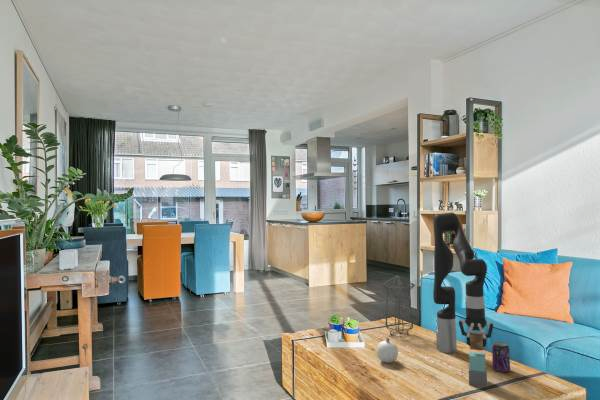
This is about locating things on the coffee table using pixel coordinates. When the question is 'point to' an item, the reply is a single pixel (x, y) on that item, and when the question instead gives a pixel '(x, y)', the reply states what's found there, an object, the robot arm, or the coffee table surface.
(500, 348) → the beverage can
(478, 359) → the tower mid
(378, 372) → the coffee table surface
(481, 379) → the tower base
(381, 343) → the ornament
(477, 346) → the walnut block
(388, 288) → the geometric lantern
